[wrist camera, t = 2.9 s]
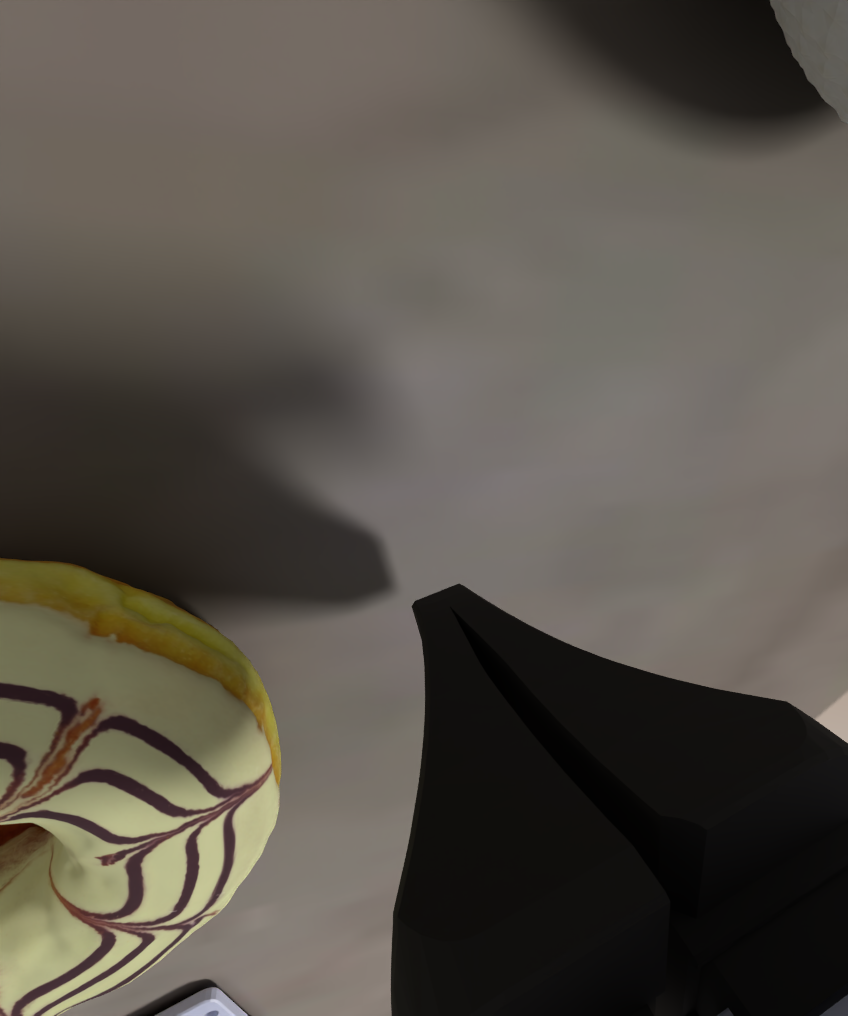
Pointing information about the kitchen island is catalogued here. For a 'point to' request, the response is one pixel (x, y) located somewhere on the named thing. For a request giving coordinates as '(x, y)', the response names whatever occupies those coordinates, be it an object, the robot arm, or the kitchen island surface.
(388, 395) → the kitchen island surface
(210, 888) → the decorated donut
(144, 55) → the kitchen island surface
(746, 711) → the robot arm
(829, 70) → the cereal bowl
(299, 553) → the kitchen island surface
